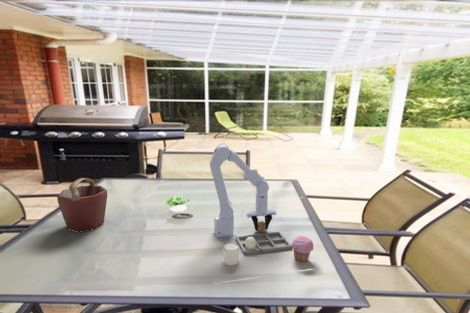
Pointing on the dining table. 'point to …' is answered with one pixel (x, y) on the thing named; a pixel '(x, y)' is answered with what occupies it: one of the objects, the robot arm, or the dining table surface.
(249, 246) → the cream egg
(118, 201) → the dining table surface
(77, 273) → the dining table surface
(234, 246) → the white textured cylinder
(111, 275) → the dining table surface
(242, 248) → the egg tray
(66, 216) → the bucket
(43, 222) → the dining table surface
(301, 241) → the cupcake
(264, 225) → the brown egg
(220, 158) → the robot arm
